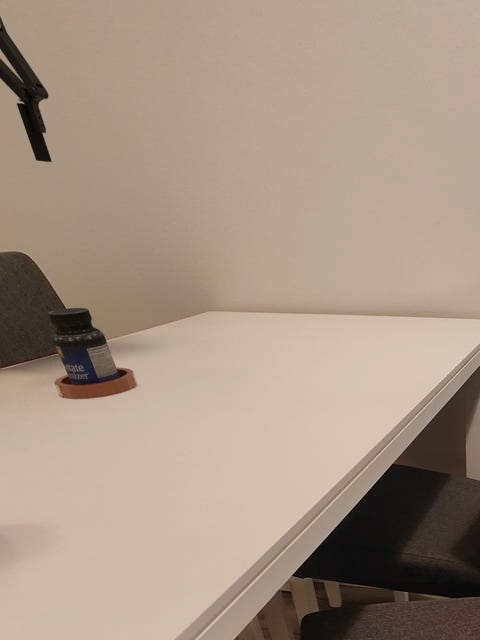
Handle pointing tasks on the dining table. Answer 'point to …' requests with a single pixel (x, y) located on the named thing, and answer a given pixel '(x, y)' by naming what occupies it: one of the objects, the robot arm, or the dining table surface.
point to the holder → (97, 386)
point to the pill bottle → (82, 347)
